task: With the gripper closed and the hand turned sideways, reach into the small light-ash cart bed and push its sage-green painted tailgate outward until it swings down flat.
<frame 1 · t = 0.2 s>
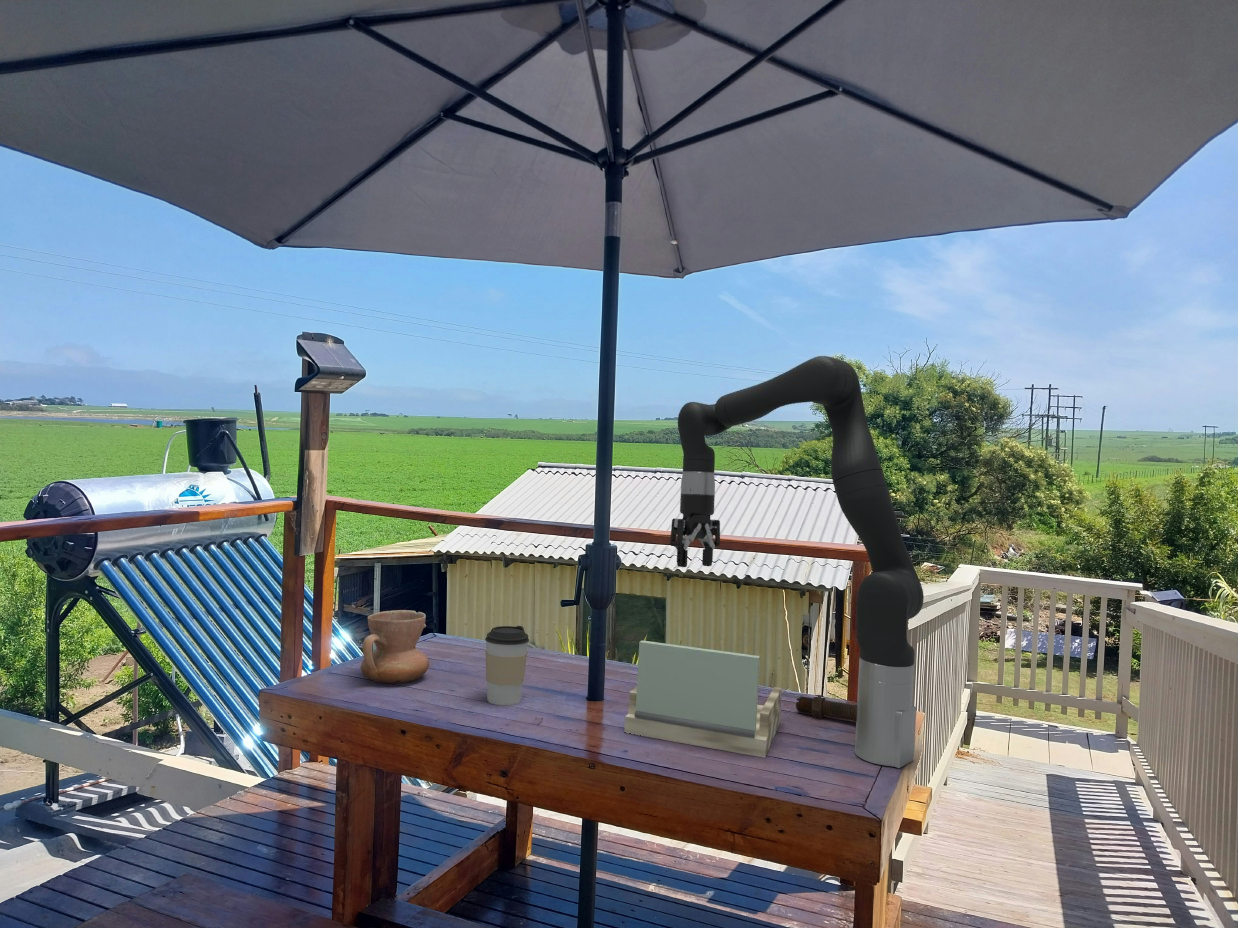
hand: (694, 566, 164), 28 cm above the table, tool pointing down, fingers open, 8 cm apart
coffee cup: (503, 700, 154), on the table
ceramic jug: (392, 680, 164), on the table
tailgate: (695, 687, 134), point 10 cm above the table, hinge at 0.0°
bolt: (833, 721, 153), on the table
cart bed: (704, 727, 143), on the table
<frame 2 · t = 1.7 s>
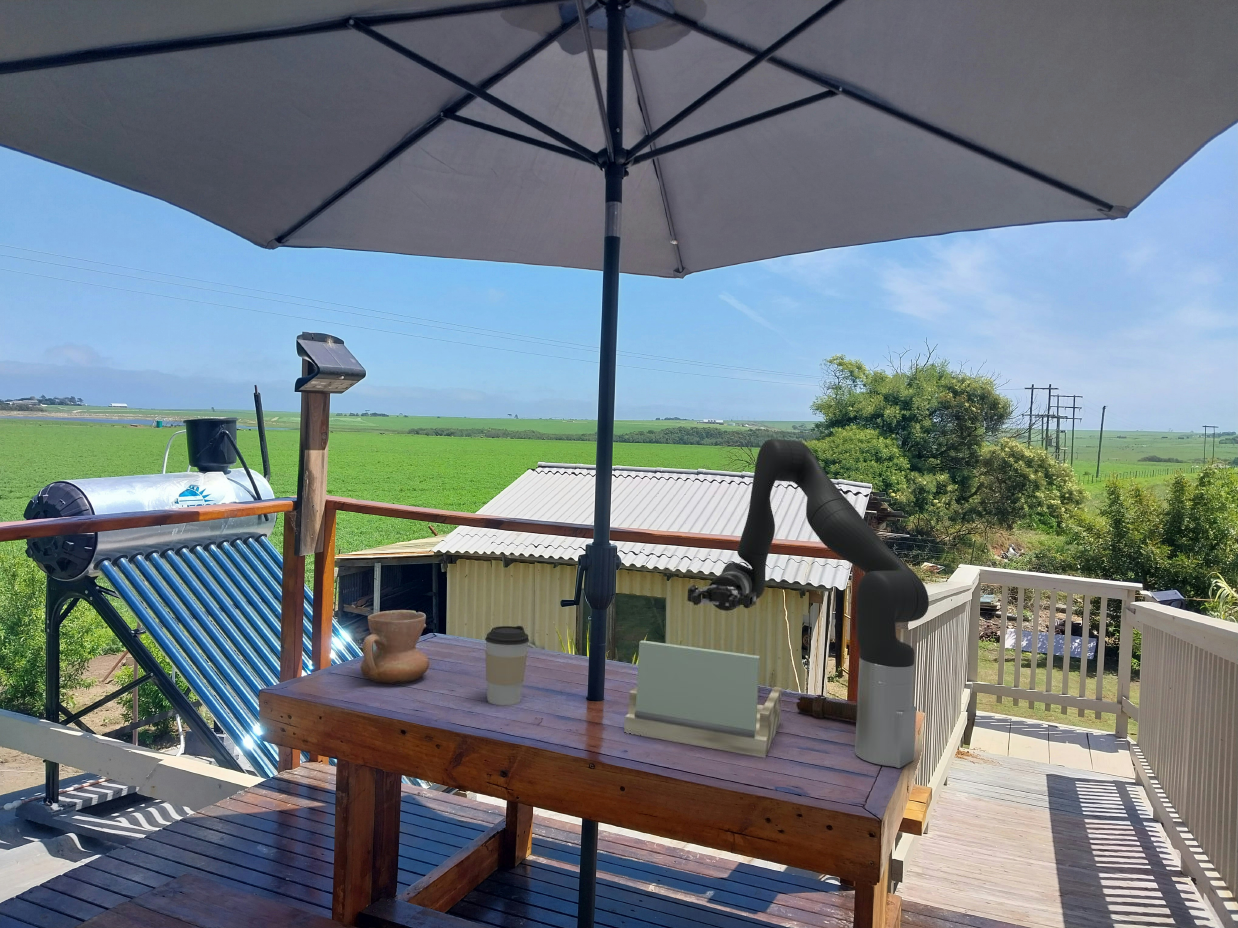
hand: (712, 601, 145), 24 cm above the table, tool horizontal, fingers open, 6 cm apart
nothing on the table moved.
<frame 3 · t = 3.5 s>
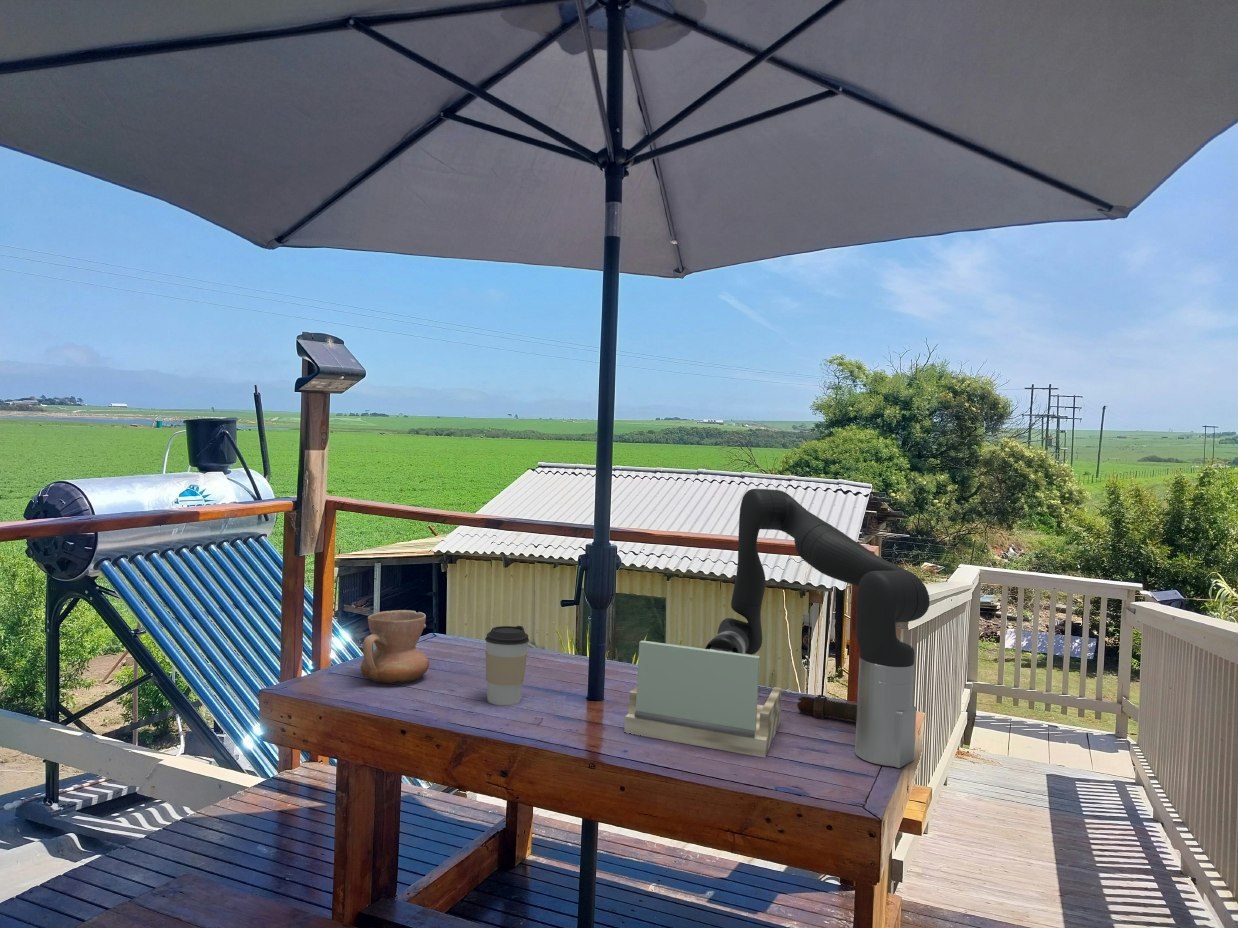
hand: (708, 670, 145), 11 cm above the table, tool horizontal, fingers closed
nothing on the table moved.
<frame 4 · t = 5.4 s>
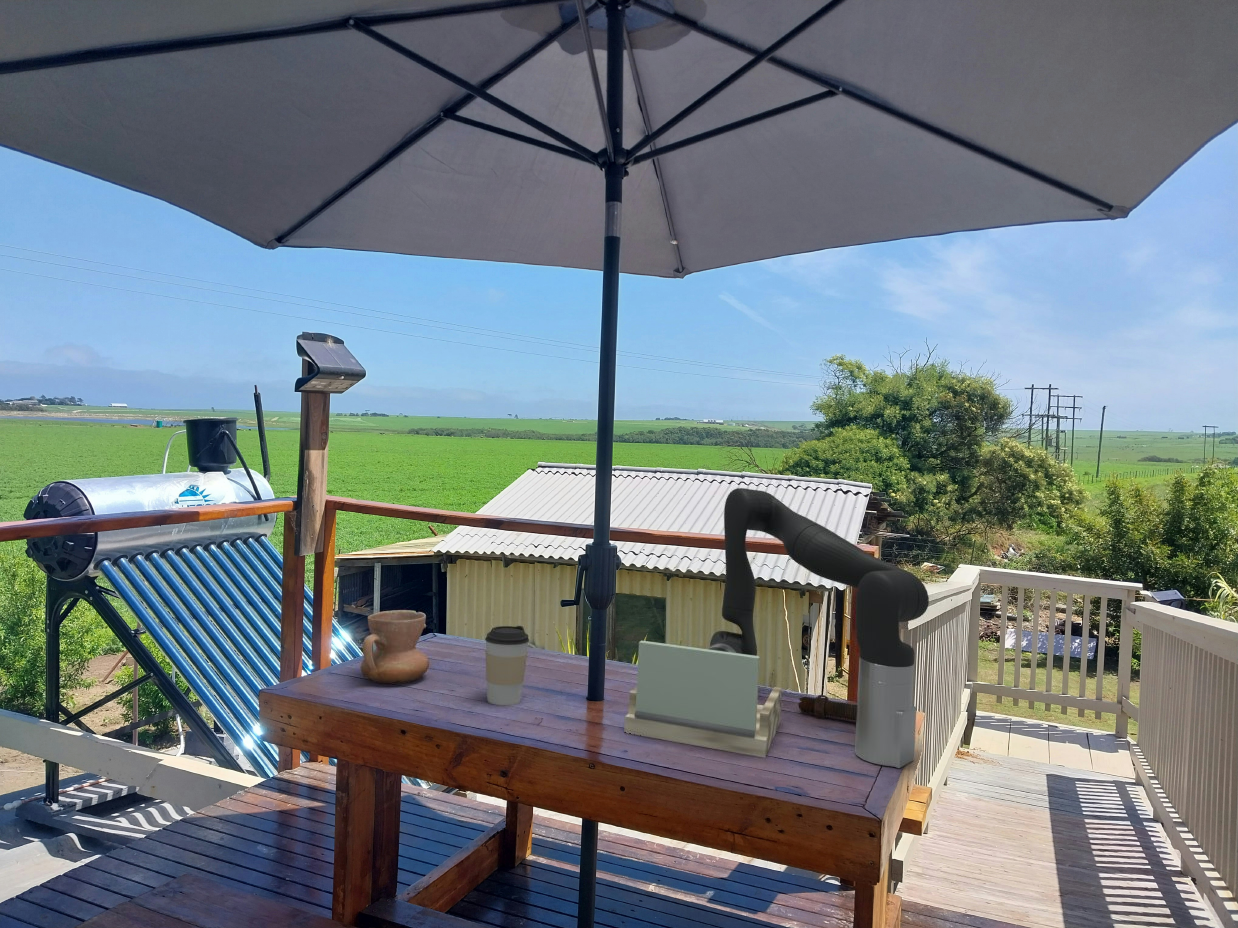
hand: (697, 686, 135), 10 cm above the table, tool horizontal, fingers closed
tailgate: (695, 688, 134), point 10 cm above the table, hinge at 0.9°, touching gripper
everything else where it was.
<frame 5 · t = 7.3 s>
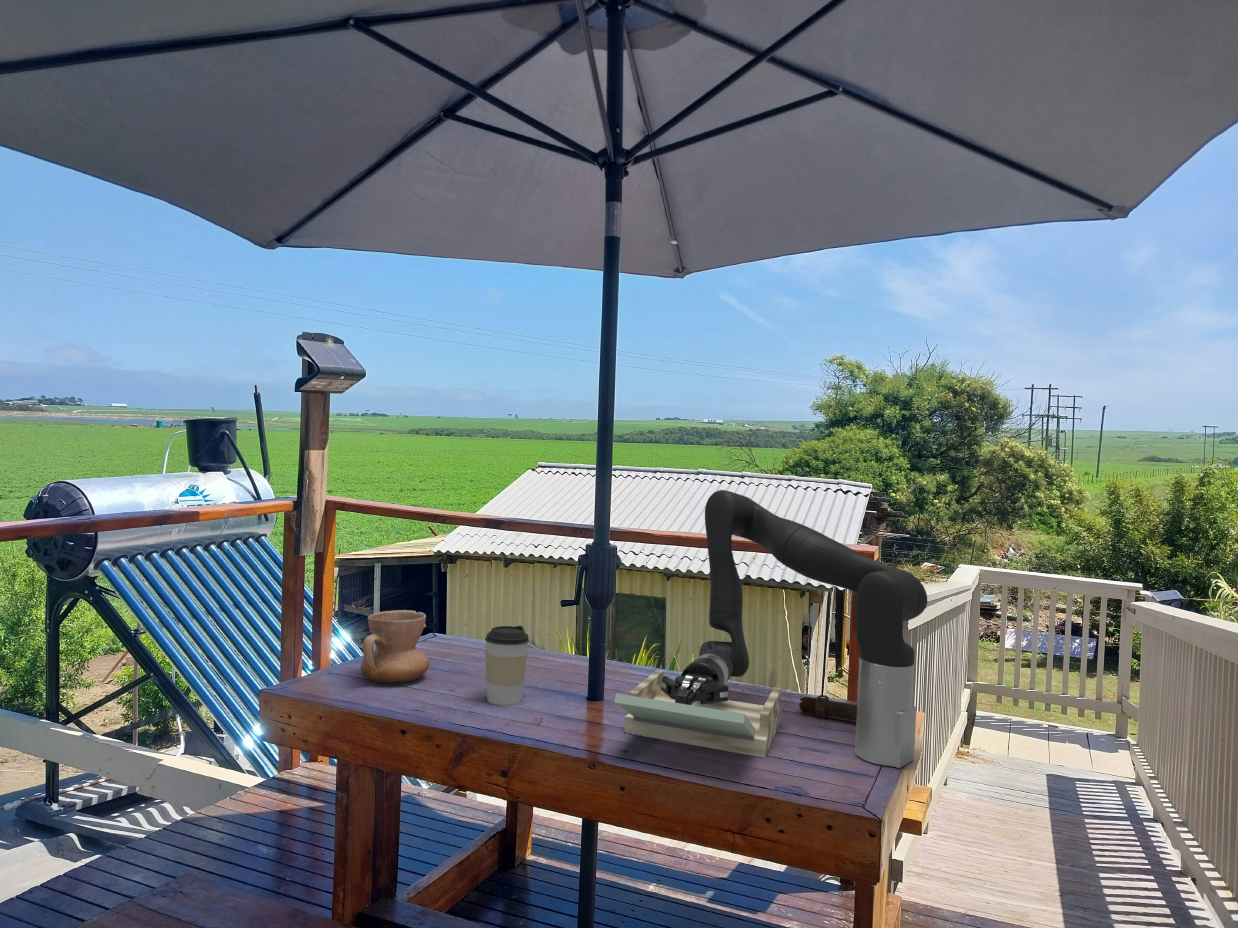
hand: (681, 701, 126), 10 cm above the table, tool horizontal, fingers closed
tailgate: (685, 717, 128), point 7 cm above the table, hinge at 63.3°, touching gripper
everything else where it was.
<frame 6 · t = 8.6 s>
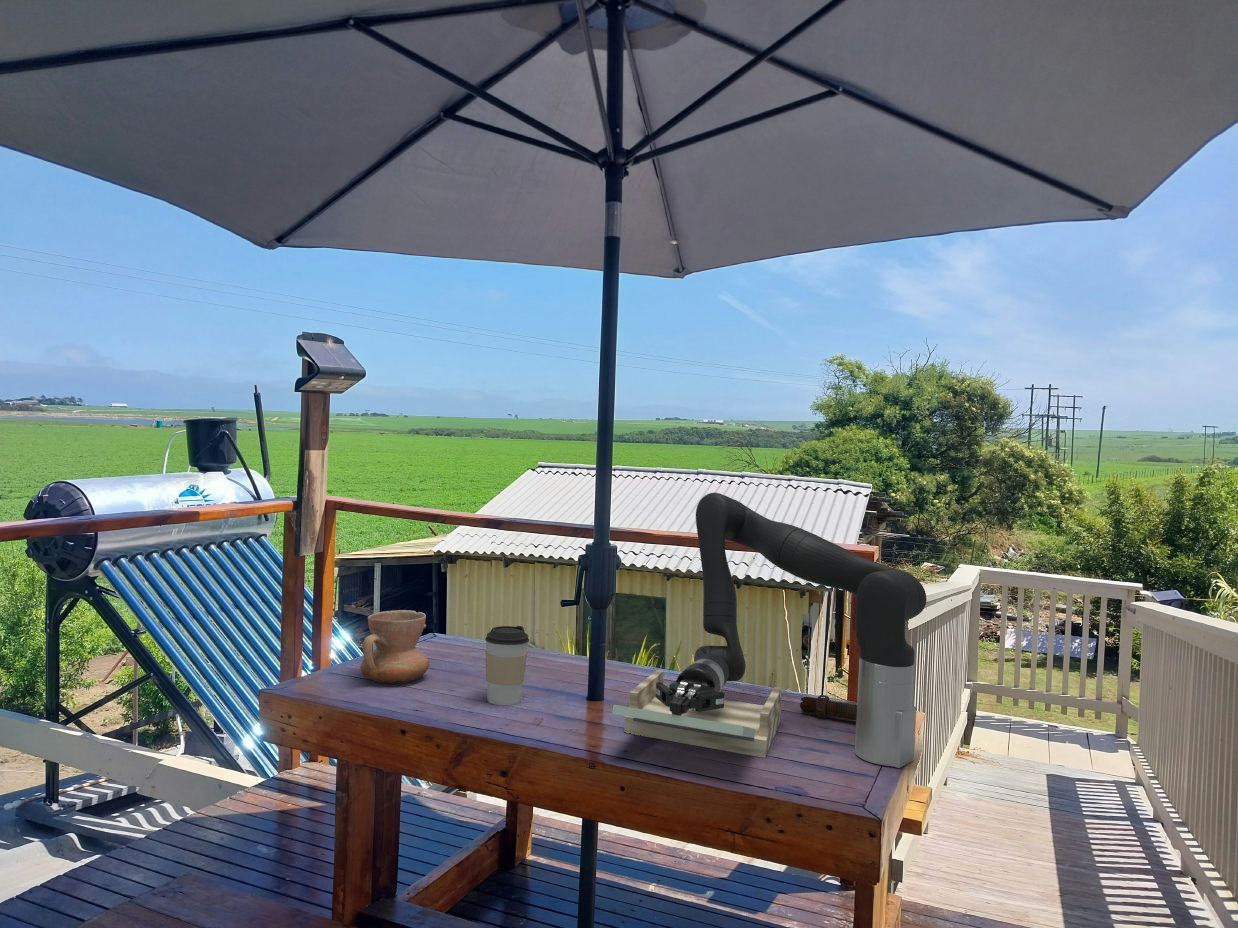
hand: (676, 709, 122), 10 cm above the table, tool horizontal, fingers closed
tailgate: (684, 723, 128), point 6 cm above the table, hinge at 71.1°, touching gripper
everything else where it was.
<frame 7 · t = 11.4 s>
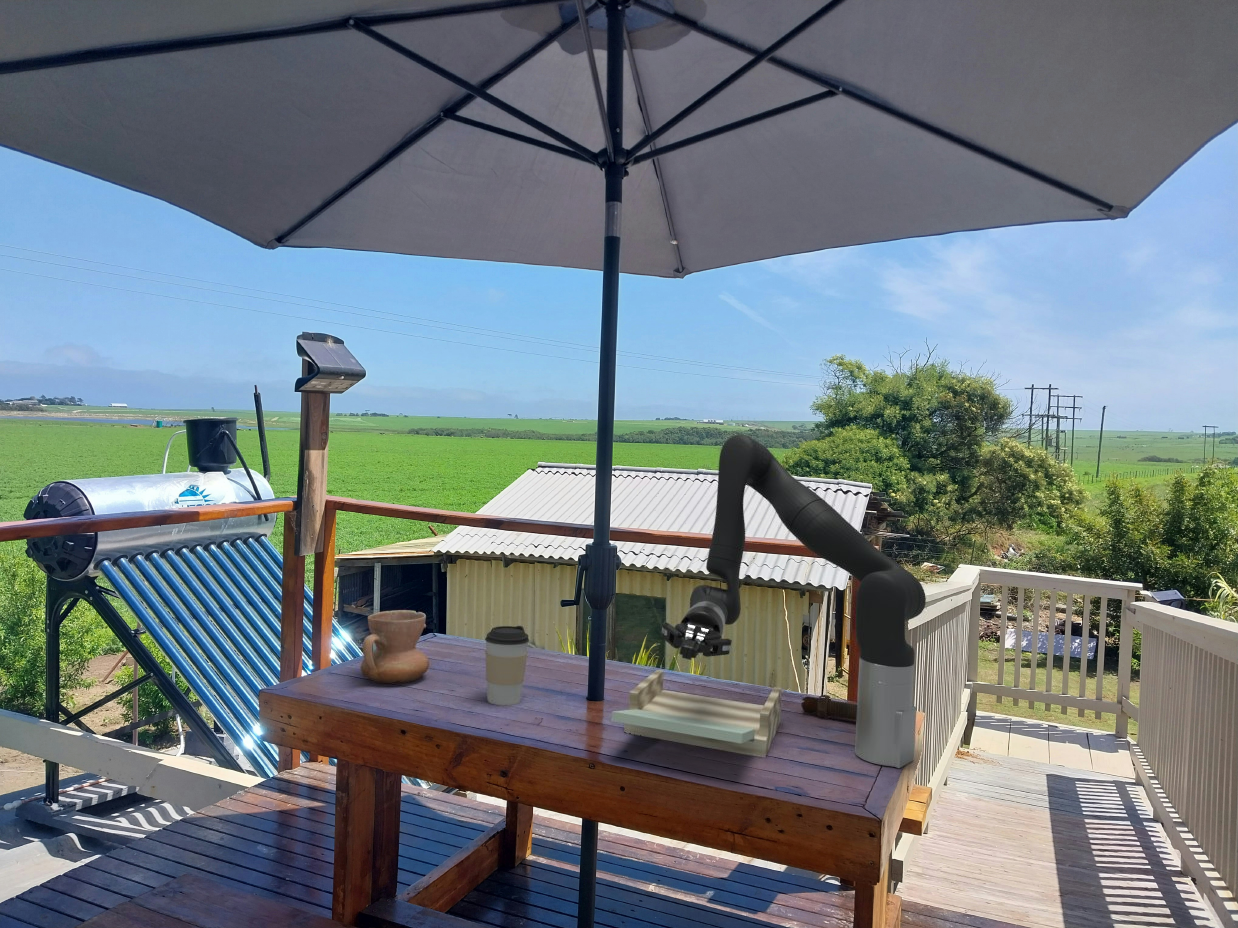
hand: (687, 653, 122), 19 cm above the table, tool horizontal, fingers closed
tailgate: (684, 726, 128), point 5 cm above the table, hinge at 75.7°
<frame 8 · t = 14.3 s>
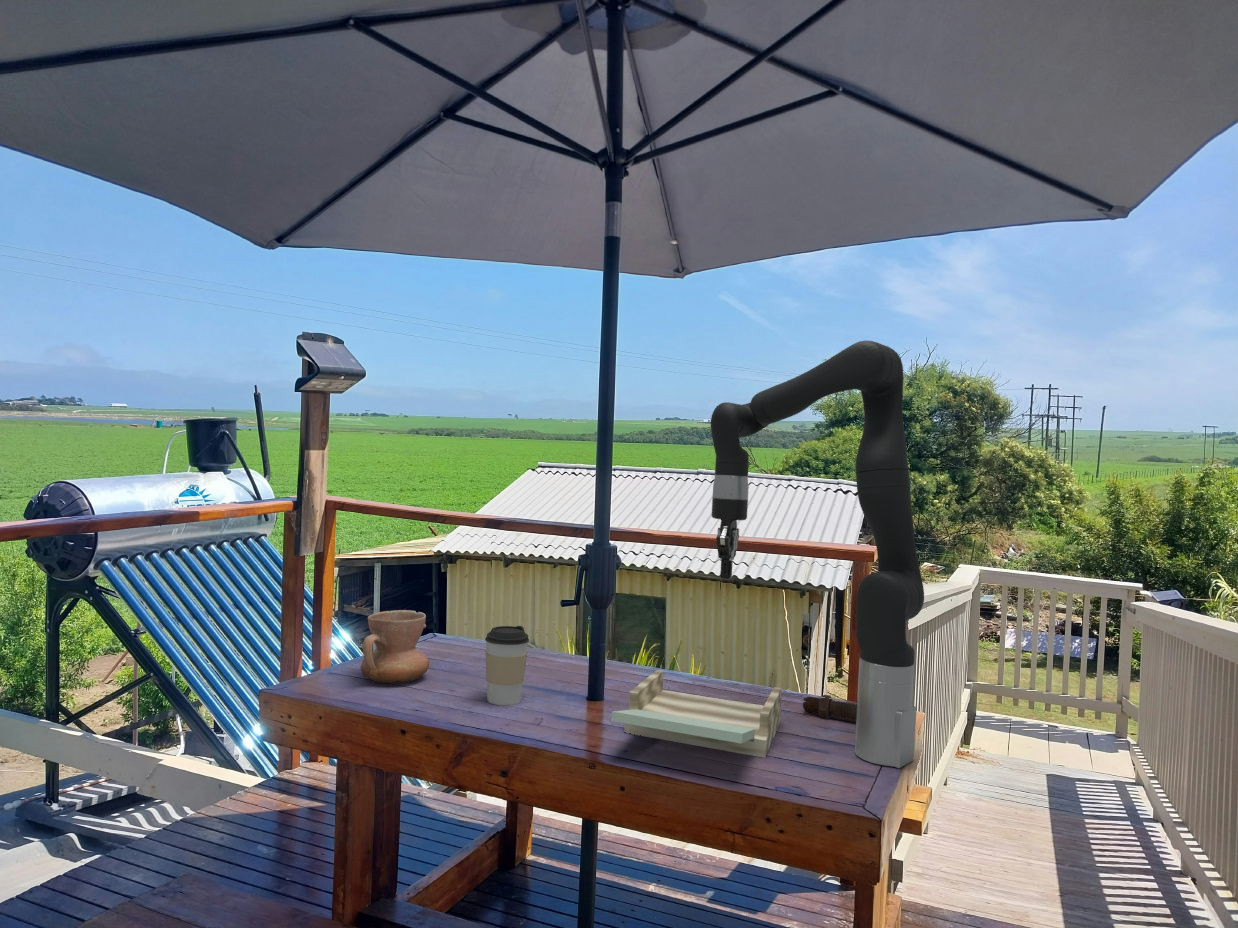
hand: (725, 577, 159), 27 cm above the table, tool pointing down, fingers closed
at the end: tailgate at +76° (first picture: +0°); bolt moved 1.7 cm from its start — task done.
